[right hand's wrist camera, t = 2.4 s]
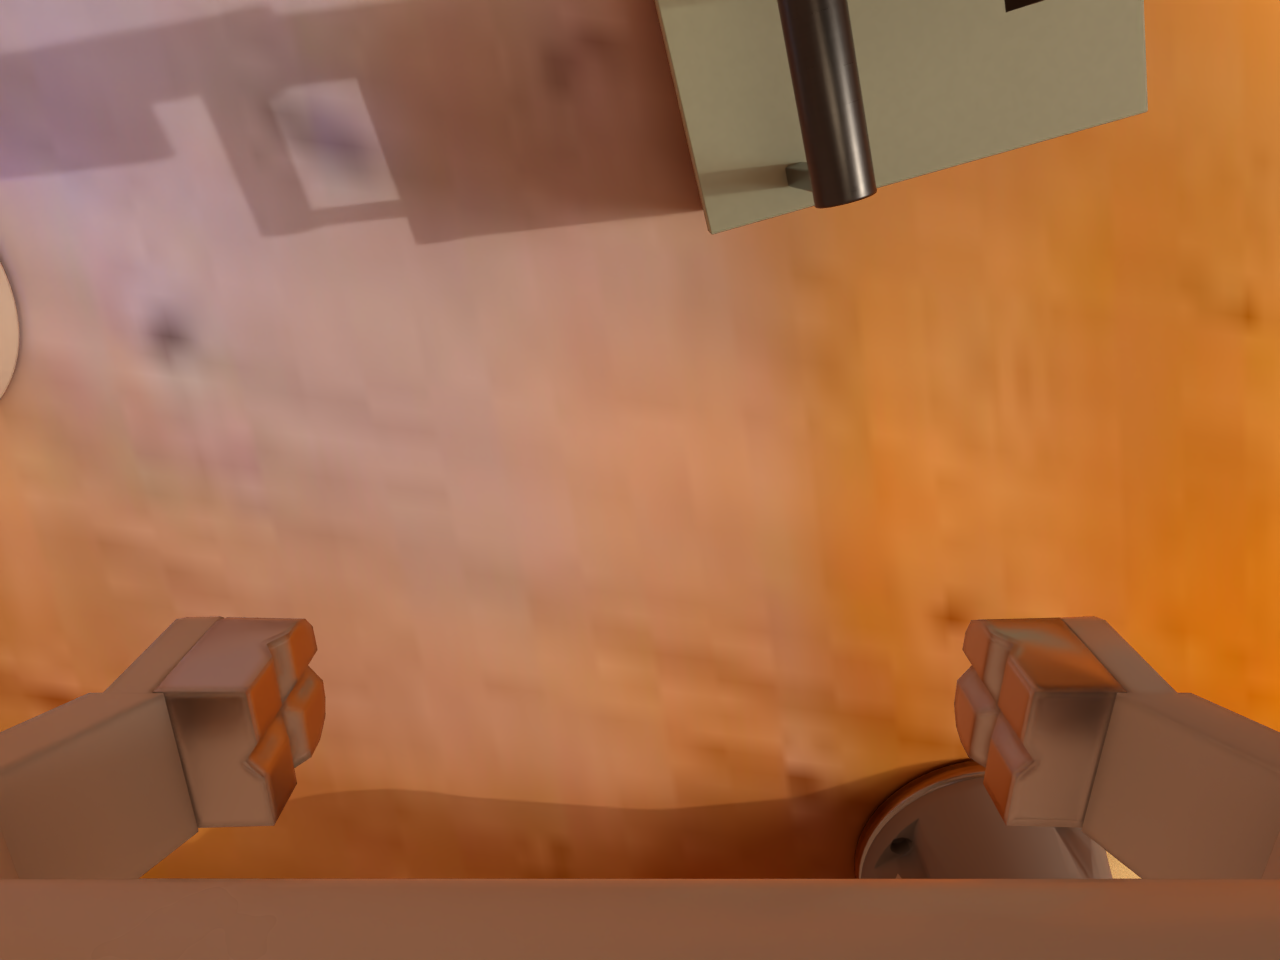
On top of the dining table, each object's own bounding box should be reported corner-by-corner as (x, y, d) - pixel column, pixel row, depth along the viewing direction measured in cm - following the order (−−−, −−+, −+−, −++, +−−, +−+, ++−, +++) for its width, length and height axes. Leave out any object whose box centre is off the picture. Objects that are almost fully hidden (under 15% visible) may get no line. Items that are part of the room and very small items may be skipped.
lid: (708, 231, 31) (737, 262, 23) (642, -52, 28) (648, -137, 19) (1128, 112, 30) (1319, 100, 22) (1113, -201, 26) (1335, -359, 18)
